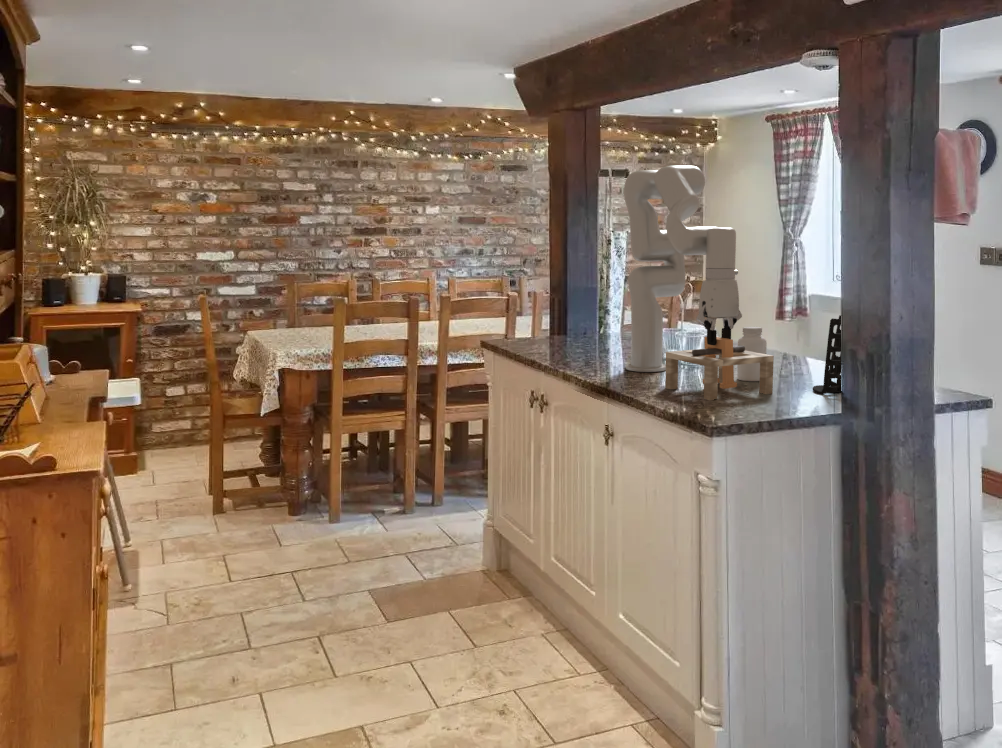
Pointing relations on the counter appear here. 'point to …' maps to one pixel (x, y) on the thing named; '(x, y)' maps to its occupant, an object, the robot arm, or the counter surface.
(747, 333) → the pill bottle
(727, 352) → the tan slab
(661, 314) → the robot arm
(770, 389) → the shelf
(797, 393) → the counter surface
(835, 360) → the holder
